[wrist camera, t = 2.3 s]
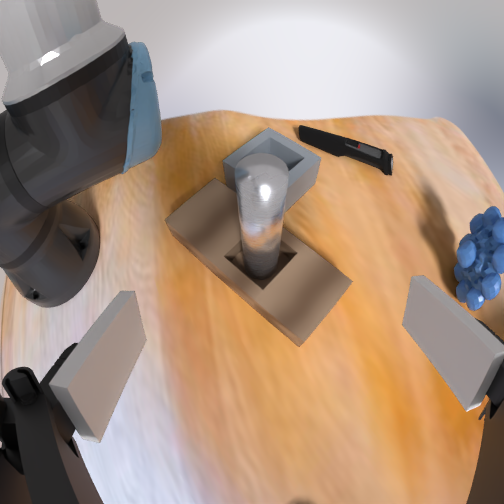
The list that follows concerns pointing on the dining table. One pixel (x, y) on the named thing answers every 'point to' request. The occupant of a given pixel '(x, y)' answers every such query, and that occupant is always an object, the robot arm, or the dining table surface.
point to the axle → (261, 211)
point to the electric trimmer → (347, 148)
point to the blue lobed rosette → (481, 259)
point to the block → (293, 154)
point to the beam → (233, 271)
